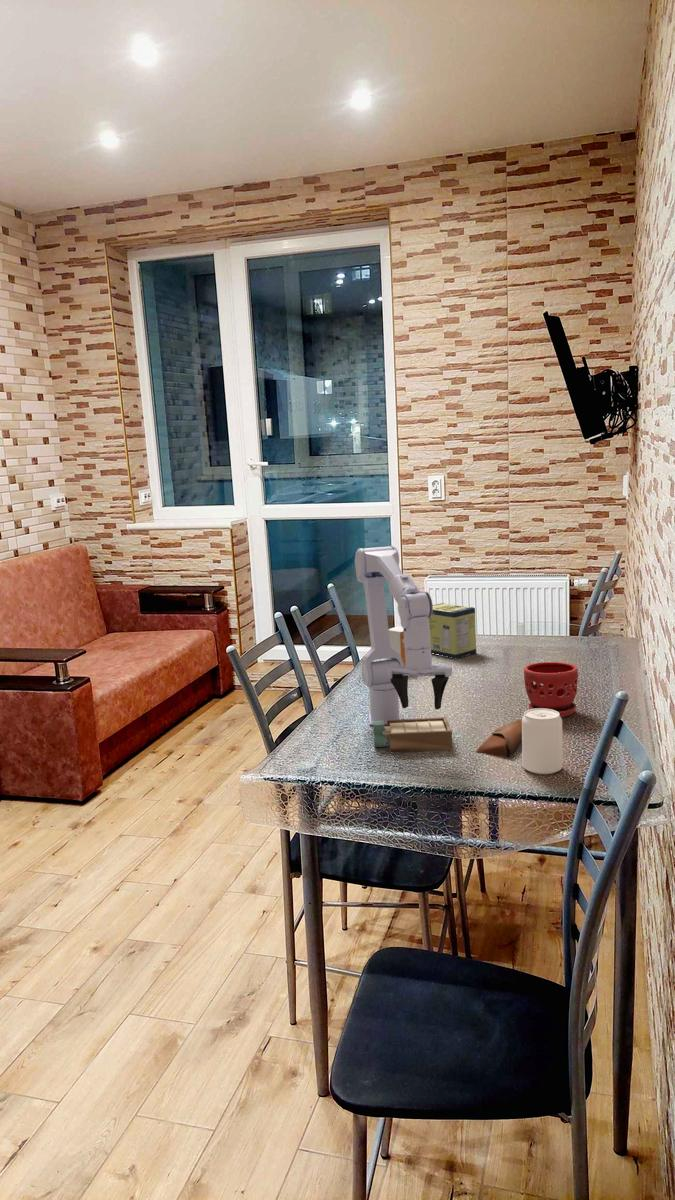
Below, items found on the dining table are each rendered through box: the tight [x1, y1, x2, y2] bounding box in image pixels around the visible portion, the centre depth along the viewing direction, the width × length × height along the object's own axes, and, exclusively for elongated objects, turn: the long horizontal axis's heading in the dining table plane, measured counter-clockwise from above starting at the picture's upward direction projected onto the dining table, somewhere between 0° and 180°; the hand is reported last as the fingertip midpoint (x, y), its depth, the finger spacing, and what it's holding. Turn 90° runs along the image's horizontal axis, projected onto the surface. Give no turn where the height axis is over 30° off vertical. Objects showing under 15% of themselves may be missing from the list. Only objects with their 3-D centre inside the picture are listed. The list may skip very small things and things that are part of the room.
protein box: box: [429, 602, 477, 659], centre depth 268 cm, size 10×16×16 cm
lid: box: [372, 721, 446, 748], centre depth 185 cm, size 8×16×5 cm, turn 90°
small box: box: [385, 625, 406, 665], centre depth 250 cm, size 8×6×13 cm
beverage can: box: [521, 708, 563, 775], centre depth 166 cm, size 8×8×12 cm
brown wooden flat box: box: [386, 716, 453, 754], centre depth 185 cm, size 10×14×4 cm
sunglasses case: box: [475, 718, 522, 759], centre depth 183 cm, size 18×7×7 cm, turn 151°
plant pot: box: [523, 661, 579, 718], centre depth 202 cm, size 13×13×12 cm
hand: (421, 707), depth 178 cm, fingers open, 7 cm apart
